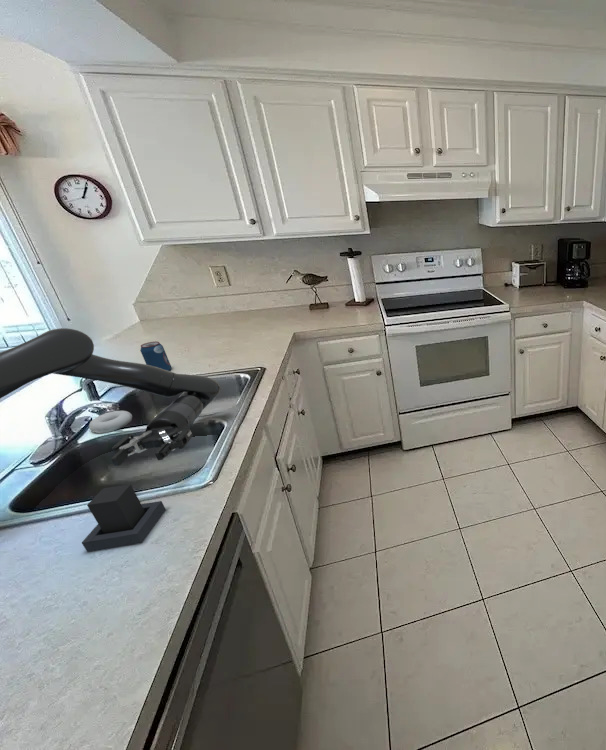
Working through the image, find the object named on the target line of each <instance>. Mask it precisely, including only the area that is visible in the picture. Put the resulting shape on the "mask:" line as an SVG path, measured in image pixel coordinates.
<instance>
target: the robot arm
mask: <svg viewBox="0 0 606 750" xmlns="http://www.w3.org/2000/svg"><path fill="white" fill-rule="evenodd" d="M94 351H95V345H94V341H93V339H92V338H91V337H90V336H89V335H88V334H86V333H85V332H83V331H80V330H78V329H73V328H68V327H67V328H63V327H61V328H60V327H59V328H53V329H50V330H47V331H44V332H42V333H41V334H39V335H37V336H36V337H34V338H31V339H30V340H27V341H25V342H22V343H20V344H18V345H15V346H14V347H11V348H9V349H6V350H3V351H1V352H0V400H1V399H3V398H4V397H6V396H8V395H10V394H11V393H13V392H15V391H16V390H18V389H20V388H22V387H23V386H26V385H28V384H29V383H31V382H33V381H35V380H38V379H40V378H43V377H46V376H48V375H53V374H54V375H60V376H65V377H66V376H67V377H74V378H82V379H88V380H93V381H98V382H103V383H108V384H113V385H118V386H122V387H126V388H130V389H134V390H138V391H142V392H146V393H148V394H151V395H155V396H160V397H163V398H173V397H176V396H177V395H179V394H180V395H179V396H178V397H177V398H176V399H174V400H173V401H172V402H171V403H170V404H169V405H167V406H166V407H165V408H163V409H162V410H161V411H160V412H159V413H158V414H157V415H155V416H154V417H153V418H152V419H151V420H150V421H149V422H148V423H147V425H146V428H145V431H144V432H142V433H141V434H139V435H138V436H134V435H133V433H129V434H126V435H125V436H124V437H123V438H122V439H120V440H119V441H118V442H117V443H115V444H114V445H113V446H112V447H111V450H112V451H113V453H114V455H113V456H112V457H111V458H110V460H111V462H112V463H113V465H114V467H118V466H121V465H122V464H123V463H124V462H126V460H127V459H128V458H129V457H130V456H131V455H134V454H141V453H142V452H145V451H147V450H149V449H153V448H155V449H156V448H157V450H156V451H155V453H154V455H155V458H156V460H157V461H164V459H165V458H166V457H168V455H170V453H171V452H173V451H175V450H176V449H178V450H182V449H184V448H186V446H187V445H188V443H189V442H190V441H191V439H192V438H193V433H192V431H191V429H190V428H191V427H192V426H193V424H194V422H195V421H196V420H197V419H198V417H200V415H201V414H202V412H203V410H205V409H206V408H207V407H208V406H209V405H210V404H211V403H212V402H213V401H214V400H215V399H216V398H217V397H218V396H219V395H220V393H221V386H220V384H219V383H218V381H216V380H215V379H213V378H212V377H208V376H204V375H197V374H187V373H177V372H173V371H171V370H170V371H167V370H164V369H161V368H158V367H154V366H151V365H146V363H139V362H131V361H124V360H116V359H112V358H108V357H107V358H106V357H103V356H98V355H96V354H94ZM138 443H140V445H141V447H140V446H139V444H138ZM131 448H132V449H131ZM130 449H131V450H130Z"/></svg>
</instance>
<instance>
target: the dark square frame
mask: <svg viewBox="0 0 606 750" xmlns="http://www.w3.org/2000/svg"><path fill="white" fill-rule="evenodd" d="M141 505H142V507H143V509H144V510H145V512H146V513H145V514H144V516H143V517H142V518H141V520H140V521H139V522H138V523H137V525H136V526H135V527H134V529H133V530H127V531H121V532H115V533H109V534H104V533H103V531H102V529H101V528H100V526H99V524H98V523H97V524H96V526H94V528H93V529H92V530H91V531H90V533H88V535H87V536H86V537H85V538H83V540H82V541H81V544H82V546H83V548H84V550H85V551H86V552H87V553H92V552H98V551H104V550H111V549H116V548H121V547H128V546H133V545H139V544H143V543H144V542H145V540H146V538H147V537H148V536H149V534H150V533H151V532H152V530H153V529H154V527H155V526H156V525H157V523H158V522H159V520H160V519H161V518H162V517H163V515H164V513H165V512H166V511H167V509H166V507H165V505H164V503H163V501H162V500H158V501H152V502H147V503H141Z"/></svg>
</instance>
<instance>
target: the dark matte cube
mask: <svg viewBox="0 0 606 750" xmlns="http://www.w3.org/2000/svg"><path fill="white" fill-rule="evenodd" d="M141 504H142V502H141V501H140V499H139V497H138V495H137V493H136V491H135V490H134V488H133V486H132V484H131V483H130V484H124V485H123V484H122V485H118V486H117V485H116V486H110V487H103V488H102V489H101V490H100V491H99V492H98V493H97V494H96V495H95V496H94V497H93V498H92V499H91V500H90V501H89V502H88V503H87V505H86V507H87V508H88V509H89V510H90V513H91V514H92V516H93V518H94V520H95V521H96V523H97V525H98V524H99V526H100V528H101V529H102V531H103V533H104V534H109V533H115V532H121V531H127V530H133V529H134V527H135V526H136V525H137V523H138V522H139V521H140V520H141V518H142V517H143V516H144V514H145V513H146V512H145V510H144V509H143V507H142V505H141Z"/></svg>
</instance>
